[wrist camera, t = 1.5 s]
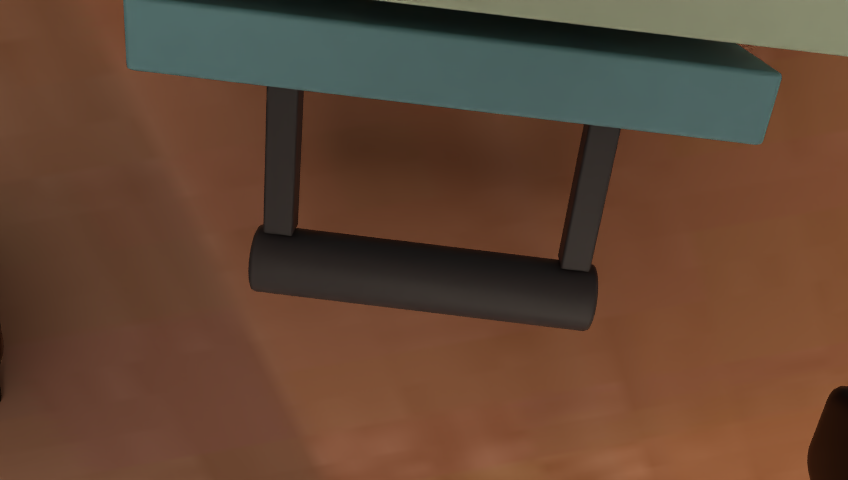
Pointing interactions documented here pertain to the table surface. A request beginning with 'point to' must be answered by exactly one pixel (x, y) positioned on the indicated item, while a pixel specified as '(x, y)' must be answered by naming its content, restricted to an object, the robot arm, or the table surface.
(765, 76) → the drawer
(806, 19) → the green drawer cabinet
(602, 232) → the table surface
